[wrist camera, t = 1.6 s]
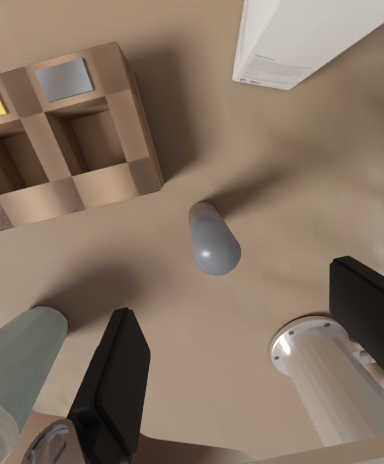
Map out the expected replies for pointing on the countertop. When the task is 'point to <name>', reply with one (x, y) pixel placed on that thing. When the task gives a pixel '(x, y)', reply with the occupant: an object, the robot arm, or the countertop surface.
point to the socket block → (73, 137)
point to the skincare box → (298, 37)
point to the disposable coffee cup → (25, 367)
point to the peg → (212, 241)
